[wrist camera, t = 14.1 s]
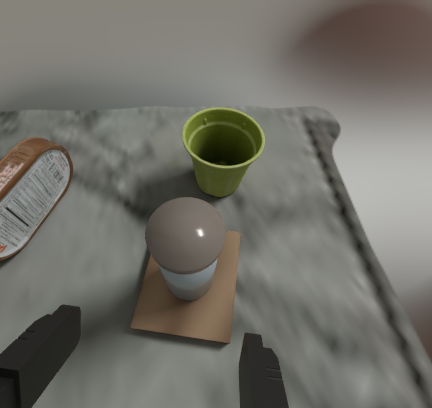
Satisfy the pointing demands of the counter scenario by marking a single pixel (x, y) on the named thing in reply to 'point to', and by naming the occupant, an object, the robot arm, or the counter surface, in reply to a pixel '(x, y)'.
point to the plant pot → (222, 148)
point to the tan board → (191, 310)
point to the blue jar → (186, 245)
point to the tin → (30, 190)
